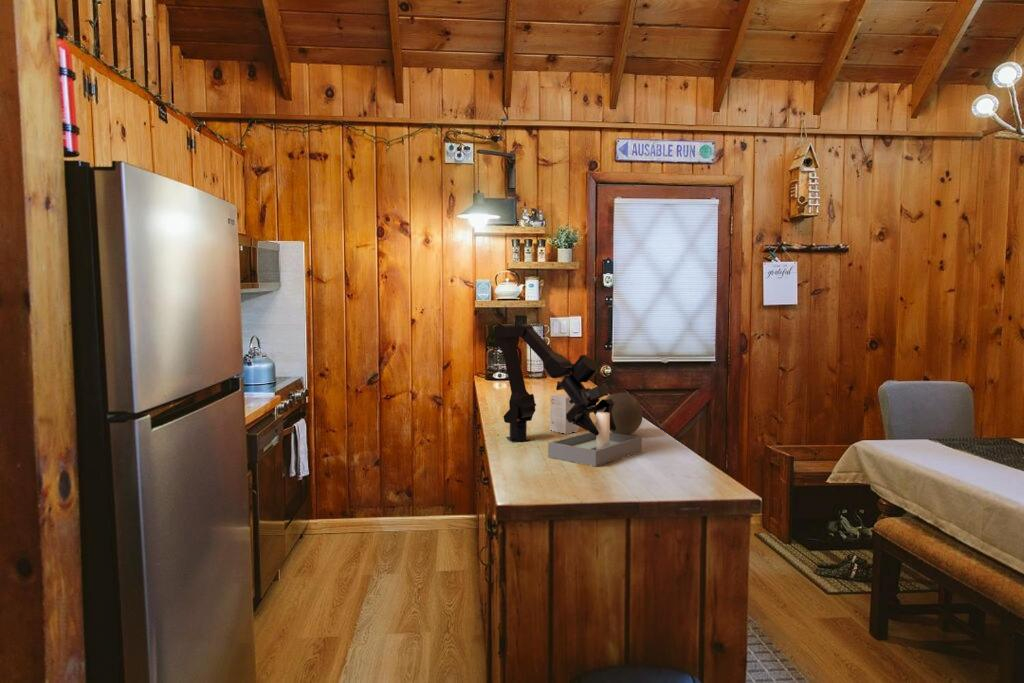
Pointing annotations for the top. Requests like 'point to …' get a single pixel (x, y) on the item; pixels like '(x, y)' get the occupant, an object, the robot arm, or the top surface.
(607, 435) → the peg
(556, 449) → the tray
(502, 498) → the top surface
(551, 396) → the small box
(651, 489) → the top surface
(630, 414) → the brown ball
